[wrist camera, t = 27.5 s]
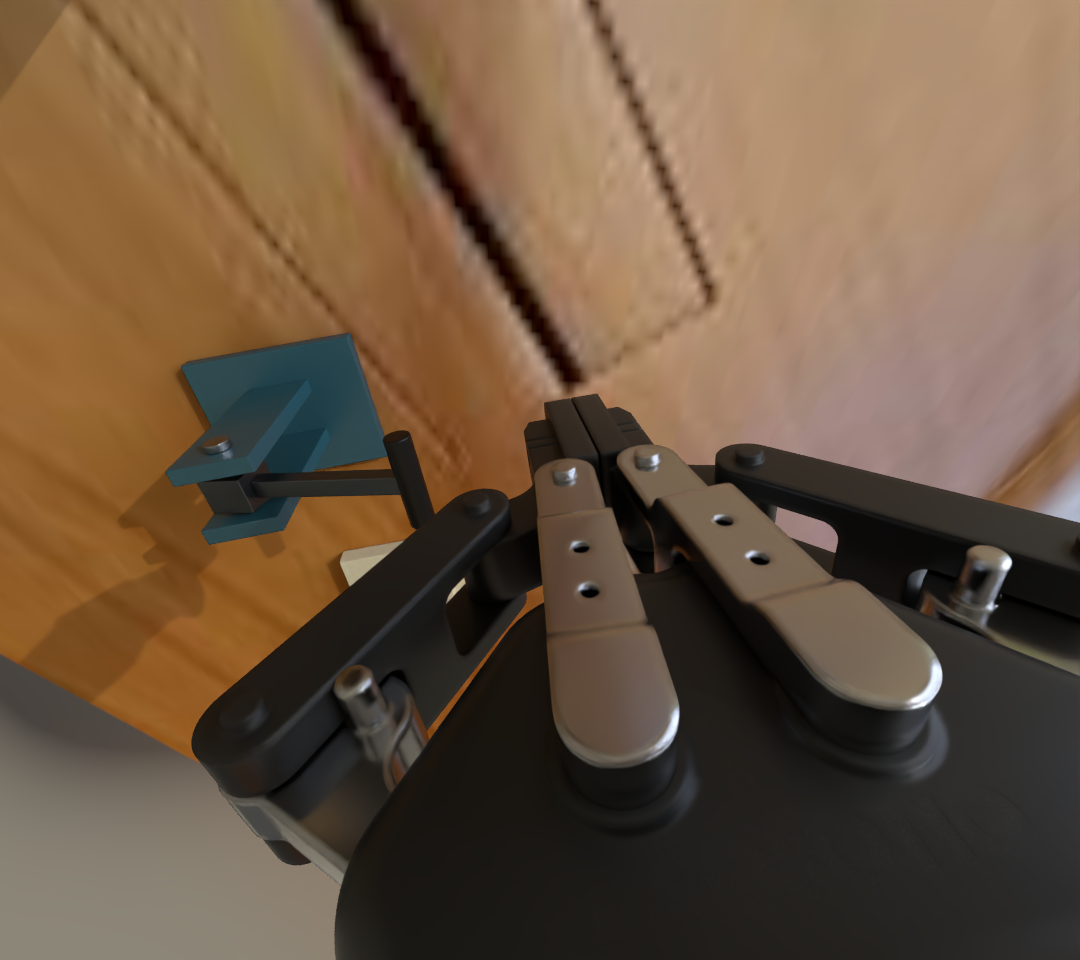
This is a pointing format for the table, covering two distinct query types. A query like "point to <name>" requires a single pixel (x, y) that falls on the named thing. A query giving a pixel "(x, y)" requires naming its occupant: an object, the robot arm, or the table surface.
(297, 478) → the lever
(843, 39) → the table surface
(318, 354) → the bracket
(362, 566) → the button block
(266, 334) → the table surface
